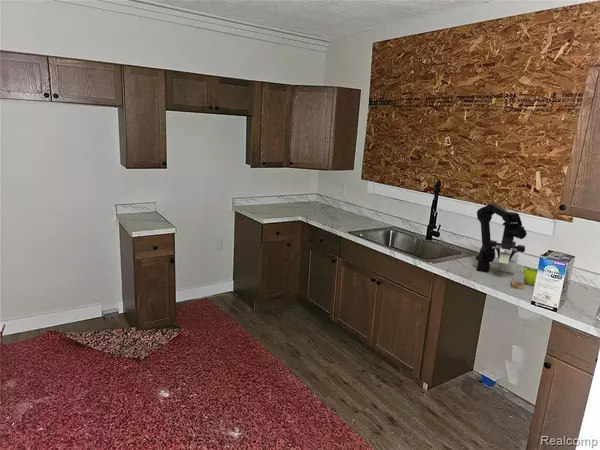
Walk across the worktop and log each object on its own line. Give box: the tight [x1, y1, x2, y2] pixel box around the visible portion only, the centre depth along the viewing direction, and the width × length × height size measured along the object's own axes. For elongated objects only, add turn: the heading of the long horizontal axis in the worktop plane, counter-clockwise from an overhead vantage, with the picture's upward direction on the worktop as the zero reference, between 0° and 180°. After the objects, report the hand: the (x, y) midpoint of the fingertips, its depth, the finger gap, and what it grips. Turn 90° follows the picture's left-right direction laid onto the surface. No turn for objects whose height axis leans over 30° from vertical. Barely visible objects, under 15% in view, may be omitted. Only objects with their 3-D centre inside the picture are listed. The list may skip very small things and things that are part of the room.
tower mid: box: [512, 271, 525, 283], centre depth 229 cm, size 5×5×4 cm
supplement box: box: [500, 249, 519, 274], centre depth 257 cm, size 7×7×13 cm
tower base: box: [510, 277, 526, 291], centre depth 230 cm, size 6×6×4 cm
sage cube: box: [498, 251, 510, 264], centre depth 236 cm, size 5×5×5 cm
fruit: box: [521, 266, 539, 286], centre depth 235 cm, size 9×9×10 cm
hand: (503, 260), depth 236 cm, fingers closed on sage cube, 5 cm apart
